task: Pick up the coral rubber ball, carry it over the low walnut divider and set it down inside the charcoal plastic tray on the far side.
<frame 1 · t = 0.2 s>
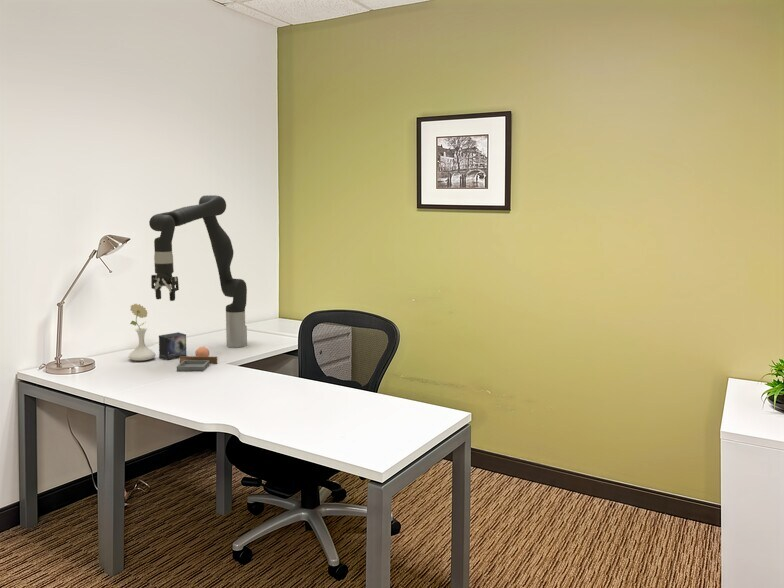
hand: (165, 299, 273), 28 cm above the table, fingers open, 8 cm apart
small box: (173, 357, 291), on the table
divider: (198, 363, 279), on the table
tray: (193, 368, 271), on the table
flower in vase: (141, 359, 286), on the table
ball: (202, 359, 286), on the table
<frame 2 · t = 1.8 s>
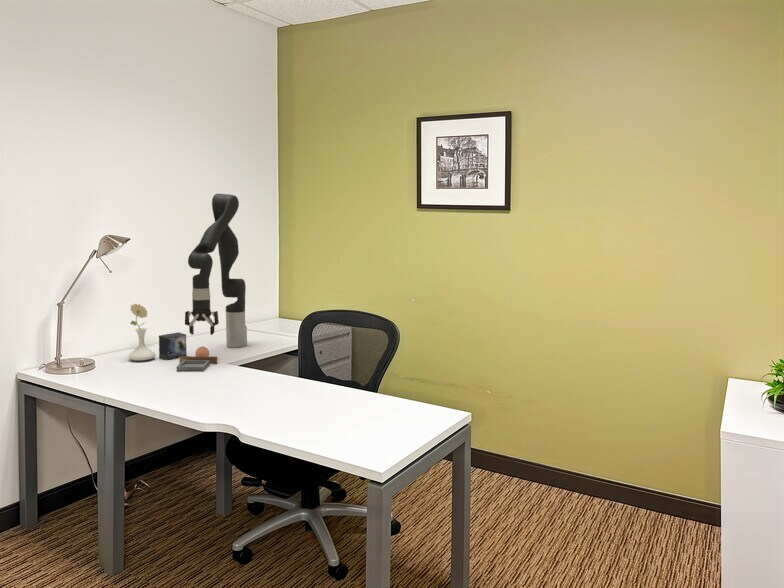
hand: (202, 334, 284), 12 cm above the table, fingers open, 8 cm apart
nothing on the table moved.
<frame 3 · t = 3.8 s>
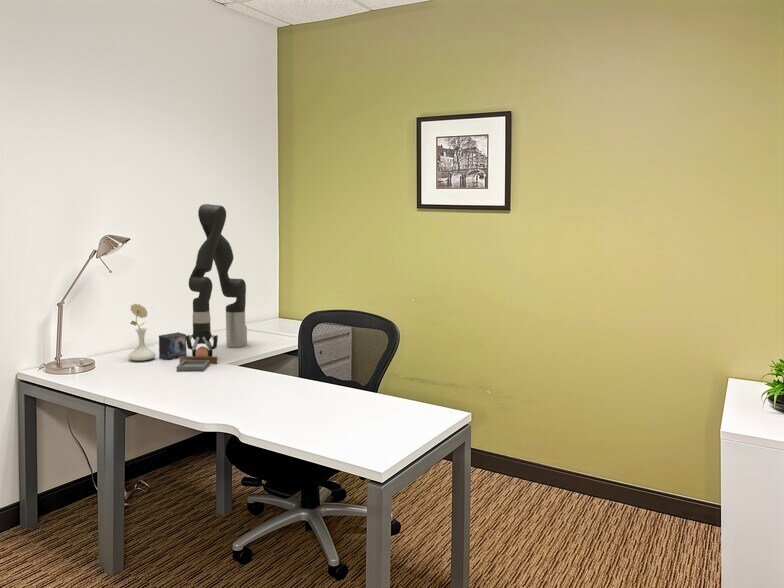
hand: (202, 358, 286), 1 cm above the table, fingers closed on ball, 6 cm apart
ball: (202, 359, 286), on the table, touching gripper
everything else where it was.
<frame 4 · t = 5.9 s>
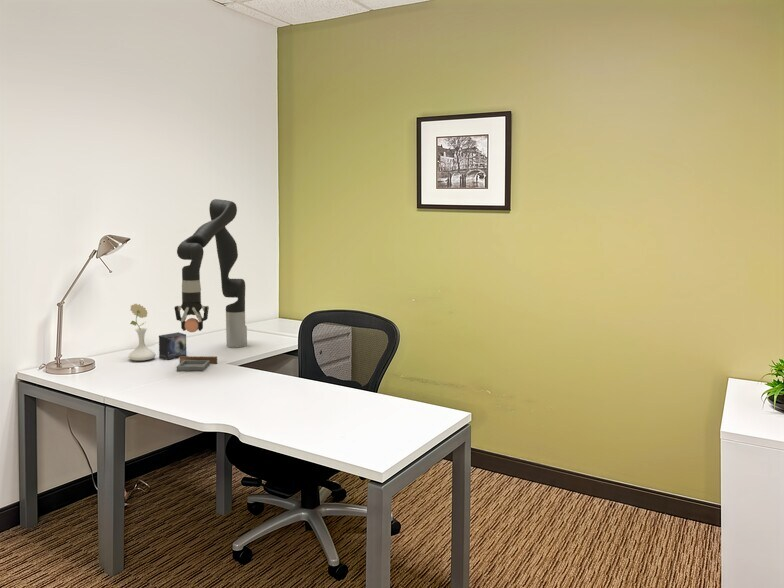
hand: (192, 330, 269), 16 cm above the table, fingers closed on ball, 6 cm apart
ball: (192, 332, 269), point 15 cm above the table, touching gripper
everything else where it was.
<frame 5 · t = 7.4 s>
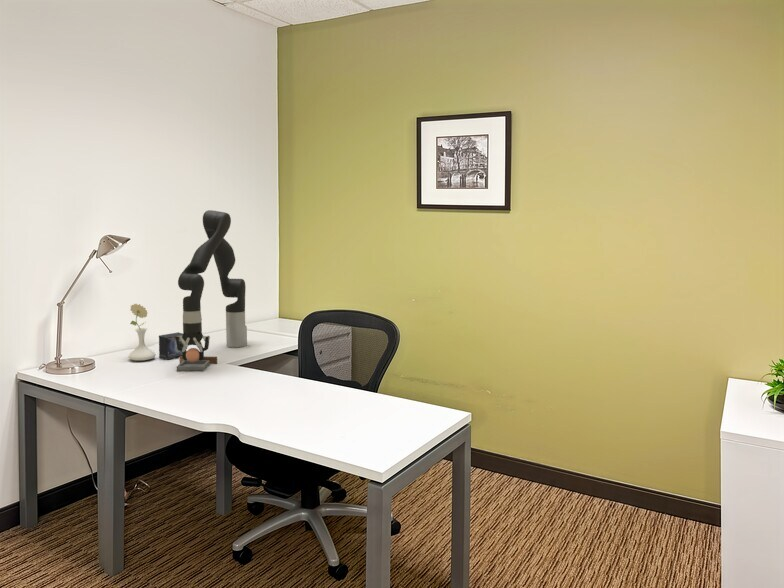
hand: (193, 360, 271), 3 cm above the table, fingers closed on ball, 6 cm apart
ball: (193, 362, 271), point 3 cm above the table, touching gripper
everything else where it was.
when the fingers open (3 cm above the table, at t = 8.3 s): ball drops 2 cm, resting on tray.
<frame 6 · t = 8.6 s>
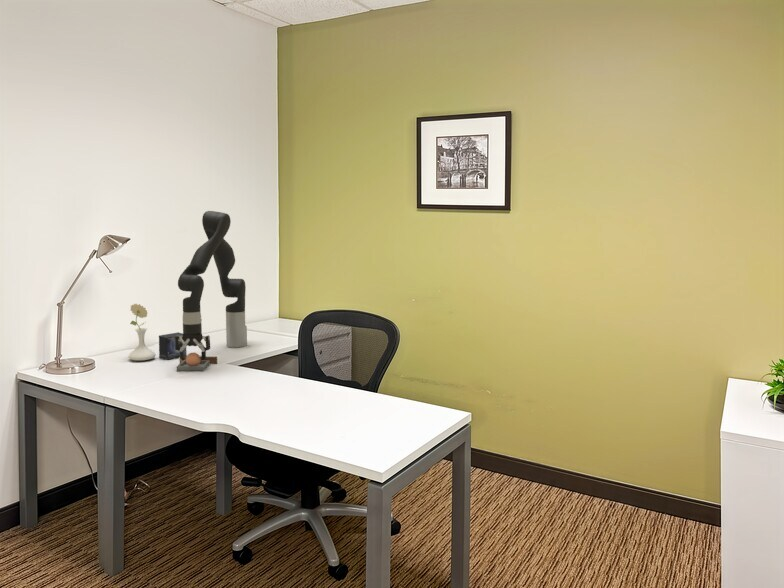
hand: (193, 359, 271), 4 cm above the table, fingers open, 8 cm apart
ball: (193, 366, 271), point 1 cm above the table, touching tray
everything else where it was.
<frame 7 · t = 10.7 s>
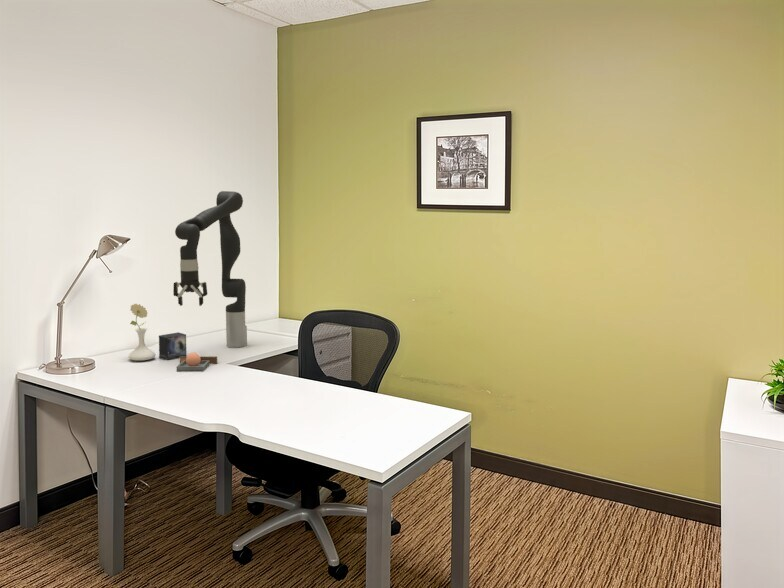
hand: (191, 305, 285), 24 cm above the table, fingers open, 8 cm apart
nothing on the table moved.
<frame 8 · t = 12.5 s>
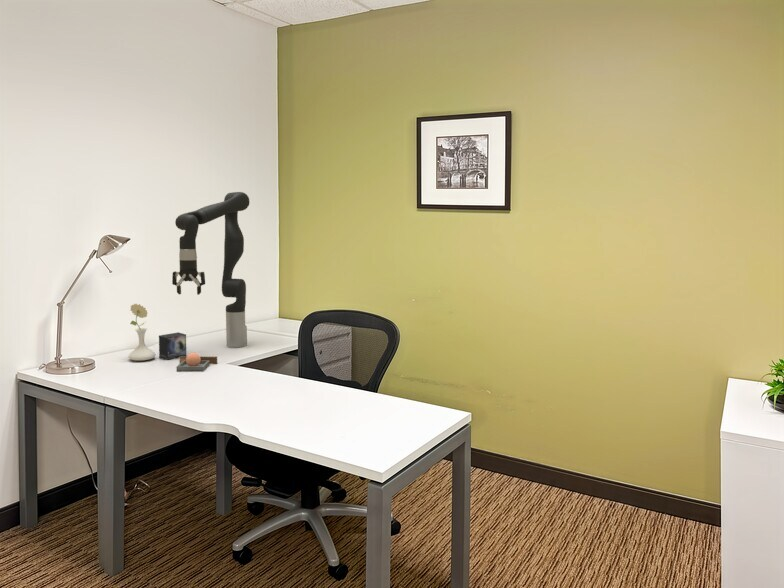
hand: (189, 294, 292), 28 cm above the table, fingers open, 8 cm apart
nothing on the table moved.
at the end: ball inside the target area on the tray (0.0 cm from its centre), point 0.6 cm above the tray's base; the gripper is holding nothing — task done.
